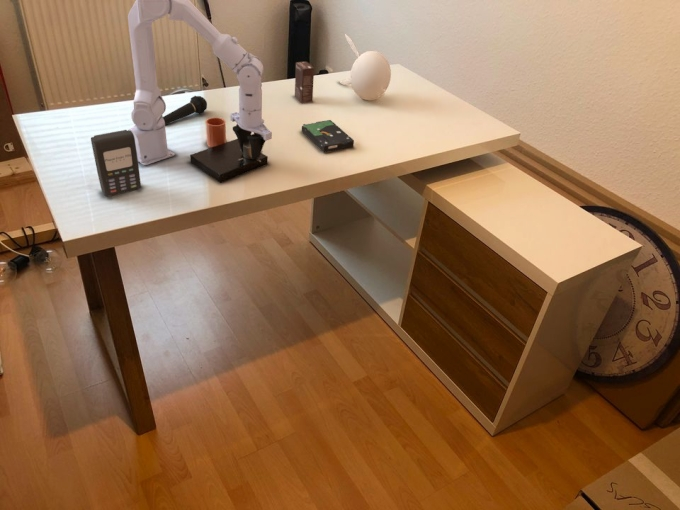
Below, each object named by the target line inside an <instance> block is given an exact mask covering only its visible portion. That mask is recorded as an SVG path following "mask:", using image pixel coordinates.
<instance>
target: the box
mask: <svg viewBox="0 0 680 510" xmlns="http://www.w3.org/2000/svg"><path fill="white" fill-rule="evenodd" d="M314 77H315V67H313V65H312V64H311V63H309V62H308V61H298V62H297V61H296V62H295V75H294V97H295V98H296V99H297V100H298V101H299V102H300V103H301V104H308V103H312V102H313V98H314V96H313V95H314Z"/></svg>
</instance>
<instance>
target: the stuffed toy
mask: <svg viewBox="0 0 680 510" xmlns="http://www.w3.org/2000/svg"><path fill="white" fill-rule="evenodd" d="M344 36H345V40H346V42H347V43H348V45H349V47H350V48H351V51H352V52H353V54H354V55H355V56H356V57H357V58H356V59H355V60H354V62H353V64H352V66H351V70H350V78H347V79H343V80H341V81H340V82H339V84H341V85H343V86H350V85H351V88H352V90H353V92H354V93H355V95H356V96H357V97H358V98H360V99H362V100H364V101H374V100H377V99H379V98H380V97H382V96H383V95H384V94H385V93H386V91H387V90H388V88H389V85H390V82H391V78H392V77H391V76H392V69H391V66H390V63H389V60H388V59H387V57H386V56H385V55H384V54H382V53H381V52H379V51H376V50H368V51H364V52H363V53H361V54H360V53H359V51H358V48H357V47H356V45H355V43H354V41H353V40H352V38H351V37H350V36H349V35H348V34H346V33H345V34H344Z"/></svg>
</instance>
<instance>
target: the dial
mask: <svg viewBox="0 0 680 510" xmlns="http://www.w3.org/2000/svg"><path fill="white" fill-rule="evenodd" d="M243 156H244V157H245V158H247V159H253V158H252V153H251V145H250V142H249V141H246V142H244V143H243Z"/></svg>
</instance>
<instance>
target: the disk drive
mask: <svg viewBox="0 0 680 510" xmlns="http://www.w3.org/2000/svg"><path fill="white" fill-rule="evenodd" d="M301 132H302V134H304V136H306V138H308V140H310V141H311V142H312V143H313V144H314V145H315V146H316V147H317V148H318V149H319V150H320V151H321V152H322V153H332V152H337V151H343V150H349V149H352V148H354V144H355V140H354V139H353V138H352V137H351V136H350V135H348V134H347V132H345V131H344V130H343V129H342V128H341V127H340V126H338V125H337V124H336V123H335V122H334V121H333V120H332V119H328V120H320V121H315V122H311V123H306V124H305V123H303V124H302V126H301Z"/></svg>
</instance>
